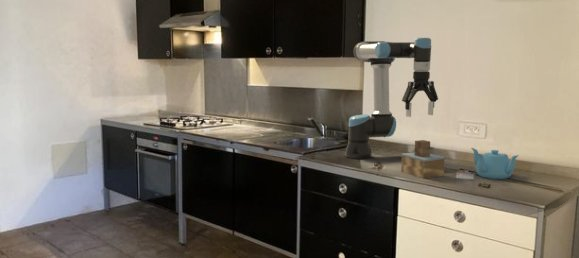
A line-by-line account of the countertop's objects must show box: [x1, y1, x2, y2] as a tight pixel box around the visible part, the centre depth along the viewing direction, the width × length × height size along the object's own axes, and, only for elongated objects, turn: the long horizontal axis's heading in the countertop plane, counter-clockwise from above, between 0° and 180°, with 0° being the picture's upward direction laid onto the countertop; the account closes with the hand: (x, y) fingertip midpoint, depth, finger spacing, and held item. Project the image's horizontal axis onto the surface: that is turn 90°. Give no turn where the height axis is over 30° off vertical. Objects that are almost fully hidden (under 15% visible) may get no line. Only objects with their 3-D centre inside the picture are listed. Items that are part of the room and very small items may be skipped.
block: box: [414, 139, 431, 157], centre depth 232 cm, size 5×5×7 cm
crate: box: [400, 156, 446, 179], centre depth 234 cm, size 16×12×8 cm
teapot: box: [470, 147, 520, 180], centre depth 229 cm, size 17×19×12 cm
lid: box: [400, 151, 446, 162], centre depth 233 cm, size 17×12×1 cm
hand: (419, 115), depth 234 cm, fingers open, 13 cm apart
